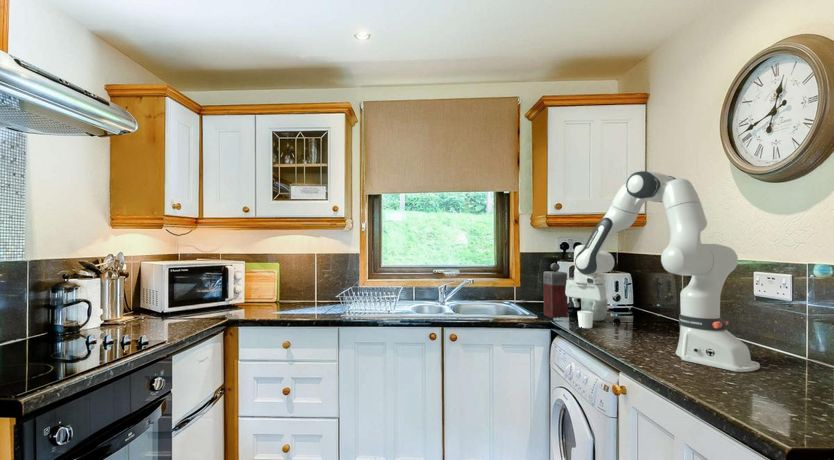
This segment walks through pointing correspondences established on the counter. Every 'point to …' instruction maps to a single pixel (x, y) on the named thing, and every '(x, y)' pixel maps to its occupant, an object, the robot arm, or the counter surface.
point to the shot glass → (585, 319)
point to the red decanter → (555, 292)
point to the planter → (600, 308)
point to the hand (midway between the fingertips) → (584, 308)
